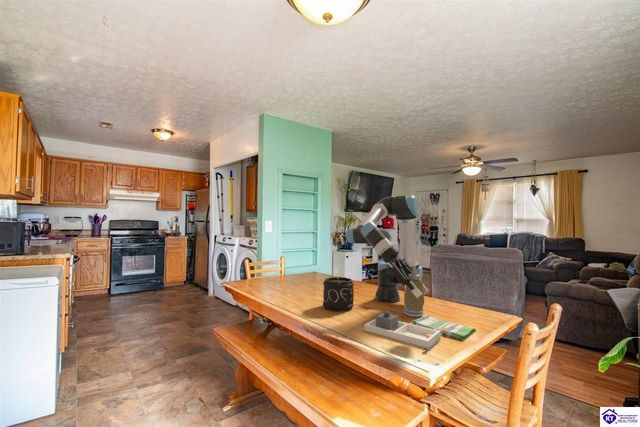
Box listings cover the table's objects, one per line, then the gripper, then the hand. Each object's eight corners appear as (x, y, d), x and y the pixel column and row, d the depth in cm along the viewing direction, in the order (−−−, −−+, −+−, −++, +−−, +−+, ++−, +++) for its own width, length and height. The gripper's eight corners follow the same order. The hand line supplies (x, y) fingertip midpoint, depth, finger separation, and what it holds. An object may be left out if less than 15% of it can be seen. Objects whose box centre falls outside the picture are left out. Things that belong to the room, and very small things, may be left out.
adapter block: (383, 325, 137) (383, 308, 137) (397, 329, 132) (397, 311, 132) (375, 330, 131) (375, 311, 131) (390, 333, 127) (390, 314, 127)
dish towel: (427, 319, 151) (426, 312, 151) (476, 331, 134) (476, 323, 135) (410, 328, 138) (410, 320, 138) (462, 342, 122) (462, 334, 122)
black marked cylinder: (343, 314, 156) (343, 284, 156) (316, 308, 167) (316, 280, 167) (360, 306, 170) (360, 279, 171) (334, 301, 181) (334, 275, 182)
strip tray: (380, 324, 142) (380, 316, 142) (440, 339, 124) (440, 331, 124) (364, 332, 131) (364, 324, 131) (427, 350, 113) (427, 341, 113)
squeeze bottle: (426, 308, 125) (426, 265, 125) (422, 313, 118) (422, 268, 118) (406, 306, 129) (407, 264, 130) (401, 310, 122) (401, 266, 123)
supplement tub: (400, 312, 160) (400, 284, 161) (416, 311, 163) (416, 284, 163) (410, 318, 151) (410, 288, 151) (427, 316, 153) (427, 288, 154)
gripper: (391, 255, 141) (425, 295, 130) (370, 258, 127) (406, 304, 116) (402, 244, 138) (437, 285, 127) (381, 246, 123) (420, 293, 112)
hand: (423, 294), depth 121 cm, fingers closed on squeeze bottle, 6 cm apart
